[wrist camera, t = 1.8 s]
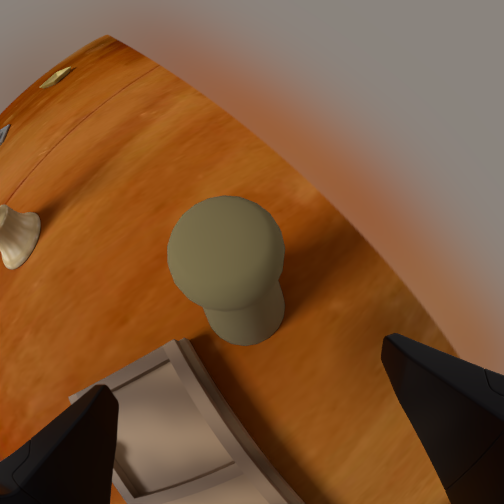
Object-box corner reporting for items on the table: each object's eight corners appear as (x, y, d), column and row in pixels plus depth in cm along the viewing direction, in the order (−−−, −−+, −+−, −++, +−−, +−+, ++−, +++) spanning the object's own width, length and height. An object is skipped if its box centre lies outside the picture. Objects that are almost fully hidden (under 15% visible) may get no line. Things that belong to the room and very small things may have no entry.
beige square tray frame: (58, 76, 56) (56, 72, 54) (73, 70, 54) (71, 65, 52) (41, 92, 52) (39, 87, 50) (56, 86, 51) (53, 81, 49)
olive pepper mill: (269, 259, 22) (266, 160, 12) (296, 330, 19) (322, 277, 9) (197, 282, 21) (141, 200, 12) (217, 355, 19) (160, 329, 9)
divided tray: (329, 528, 11) (335, 542, 9) (204, 570, 9) (198, 584, 7) (188, 340, 19) (177, 334, 17) (80, 399, 17) (61, 398, 15)
